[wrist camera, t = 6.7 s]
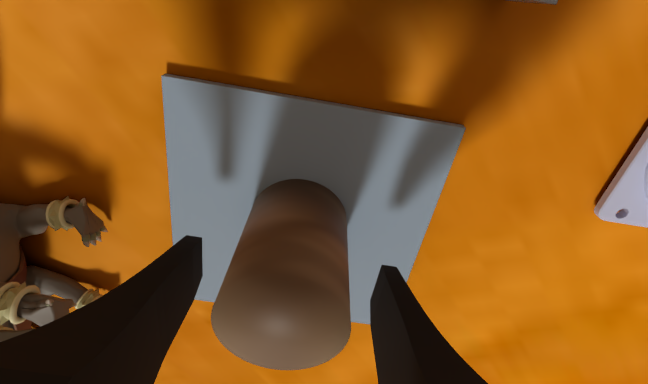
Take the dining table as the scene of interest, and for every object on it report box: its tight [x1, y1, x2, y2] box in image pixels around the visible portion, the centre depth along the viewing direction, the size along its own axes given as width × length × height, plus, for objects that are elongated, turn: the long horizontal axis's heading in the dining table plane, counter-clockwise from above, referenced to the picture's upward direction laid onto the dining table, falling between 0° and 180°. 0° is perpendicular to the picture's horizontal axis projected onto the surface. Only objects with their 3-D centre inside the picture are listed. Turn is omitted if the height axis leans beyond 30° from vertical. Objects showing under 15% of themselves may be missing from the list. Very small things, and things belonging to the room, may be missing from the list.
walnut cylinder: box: [211, 179, 351, 370], centre depth 14 cm, size 4×4×6 cm
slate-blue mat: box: [162, 74, 466, 324], centre depth 17 cm, size 12×12×1 cm
